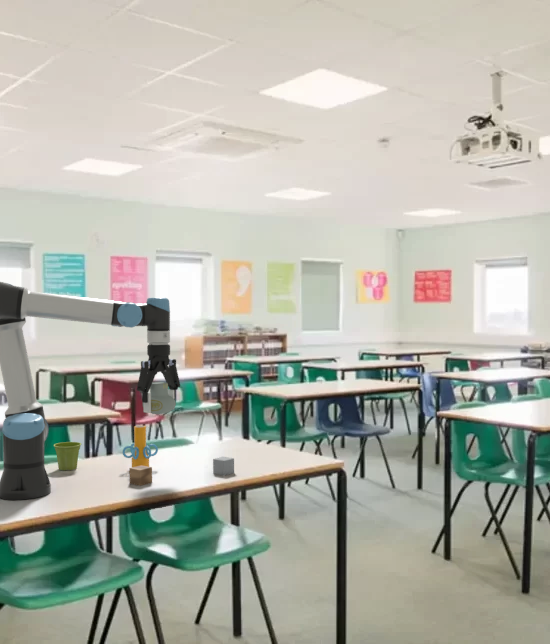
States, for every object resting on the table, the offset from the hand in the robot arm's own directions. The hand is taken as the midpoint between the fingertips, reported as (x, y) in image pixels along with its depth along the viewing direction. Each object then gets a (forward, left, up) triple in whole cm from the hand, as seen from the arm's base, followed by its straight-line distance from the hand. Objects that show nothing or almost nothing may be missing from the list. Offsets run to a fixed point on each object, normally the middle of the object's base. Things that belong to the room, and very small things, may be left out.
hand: (159, 410), depth 235 cm
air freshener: (0, 0, -1) cm, 1 cm away
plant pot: (-12, +34, -22) cm, 42 cm away
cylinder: (+2, +12, -22) cm, 25 cm away
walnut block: (-11, -3, -22) cm, 25 cm away
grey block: (+15, -15, -22) cm, 30 cm away
